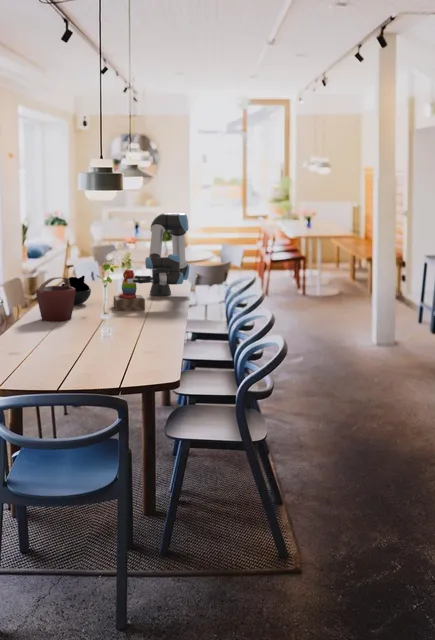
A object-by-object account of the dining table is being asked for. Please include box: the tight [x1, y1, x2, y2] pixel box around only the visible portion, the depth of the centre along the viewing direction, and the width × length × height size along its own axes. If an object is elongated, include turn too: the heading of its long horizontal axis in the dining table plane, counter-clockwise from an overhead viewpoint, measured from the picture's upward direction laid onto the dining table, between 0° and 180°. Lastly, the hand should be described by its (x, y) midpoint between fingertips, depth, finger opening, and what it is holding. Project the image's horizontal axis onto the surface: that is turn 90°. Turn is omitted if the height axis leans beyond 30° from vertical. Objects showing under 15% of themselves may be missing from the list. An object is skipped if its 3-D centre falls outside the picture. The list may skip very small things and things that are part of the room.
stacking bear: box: [118, 269, 137, 299], centre depth 506 cm, size 11×10×18 cm
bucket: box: [35, 276, 76, 323], centre depth 466 cm, size 24×22×25 cm
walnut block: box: [113, 294, 146, 312], centre depth 508 cm, size 18×18×7 cm
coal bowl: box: [60, 275, 92, 306], centre depth 519 cm, size 20×20×19 cm
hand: (126, 279), depth 505 cm, fingers open, 13 cm apart
